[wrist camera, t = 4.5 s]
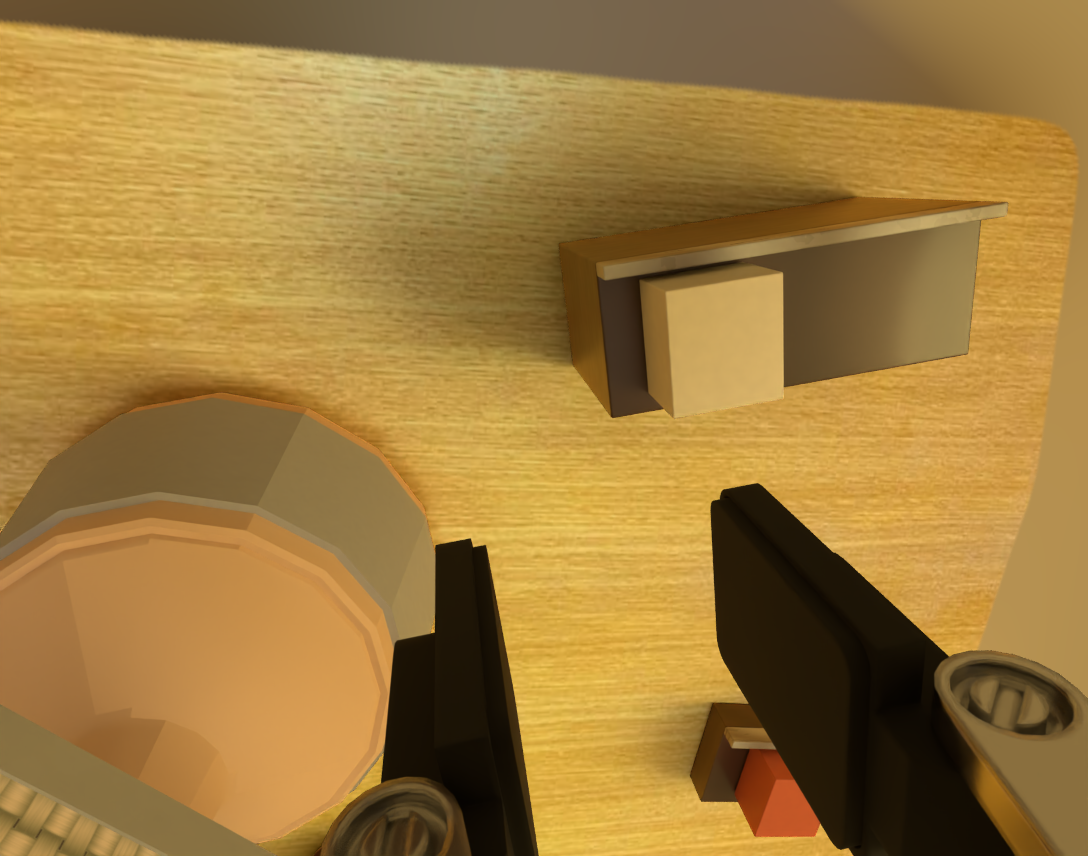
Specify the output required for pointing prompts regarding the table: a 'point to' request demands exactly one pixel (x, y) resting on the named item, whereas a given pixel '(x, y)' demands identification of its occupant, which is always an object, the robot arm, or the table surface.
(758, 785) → the red cube block
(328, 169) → the table surface
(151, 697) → the desk lamp
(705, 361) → the tan block
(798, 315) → the counter front
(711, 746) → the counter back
